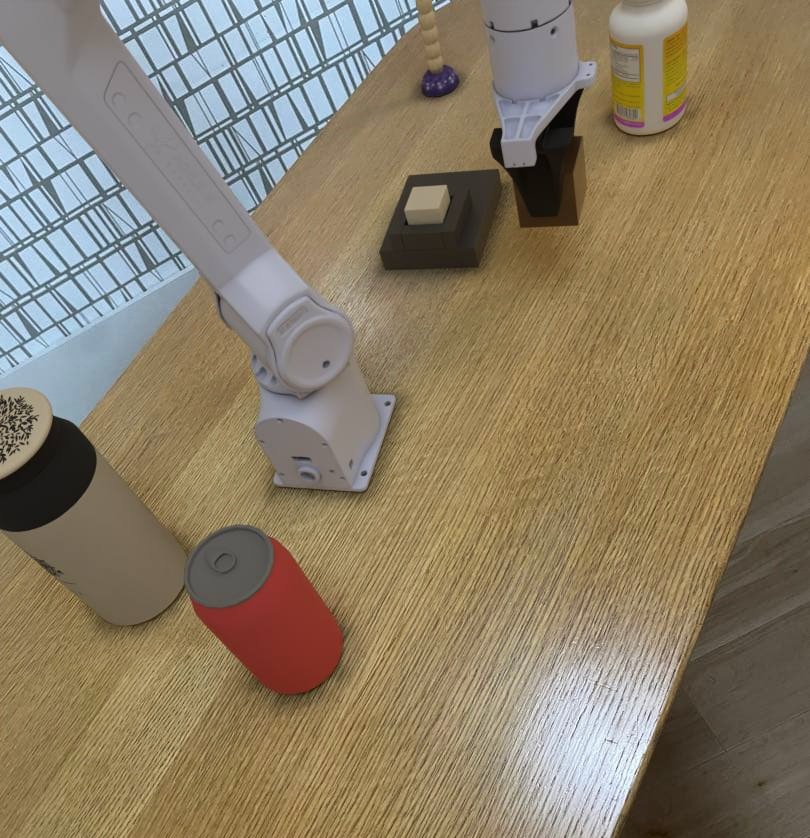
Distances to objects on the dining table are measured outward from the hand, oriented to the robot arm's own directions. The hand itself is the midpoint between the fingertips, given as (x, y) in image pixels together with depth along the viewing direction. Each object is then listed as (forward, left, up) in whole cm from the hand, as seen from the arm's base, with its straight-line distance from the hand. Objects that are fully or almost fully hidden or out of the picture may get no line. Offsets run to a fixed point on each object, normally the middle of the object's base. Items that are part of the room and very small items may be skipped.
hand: (550, 192), depth 64 cm
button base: (+7, +12, -8) cm, 16 cm away
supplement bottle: (+22, -5, -9) cm, 24 cm away
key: (+5, +12, -5) cm, 14 cm away
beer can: (-37, +12, -9) cm, 40 cm away
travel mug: (-33, +27, -9) cm, 43 cm away
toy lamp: (+31, +18, -9) cm, 37 cm away
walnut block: (0, 0, -1) cm, 1 cm away
